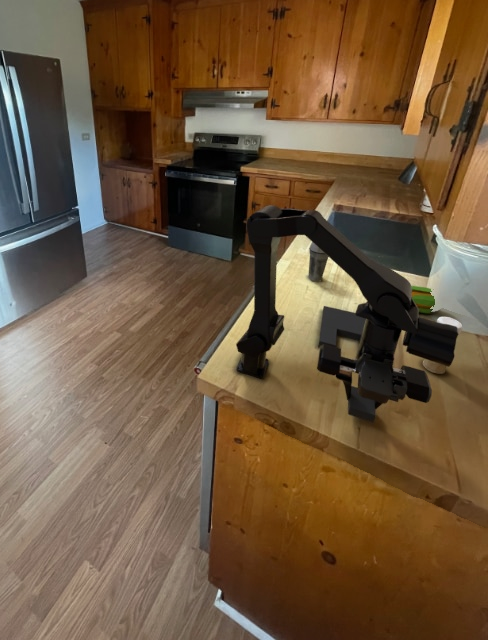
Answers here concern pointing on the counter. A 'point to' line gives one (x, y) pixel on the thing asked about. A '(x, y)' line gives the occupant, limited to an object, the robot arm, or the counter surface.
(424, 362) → the tan spice jar
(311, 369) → the counter surface
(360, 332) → the dark u-shaped block
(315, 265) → the beverage cup
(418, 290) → the corn
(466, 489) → the counter surface
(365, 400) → the small pad
